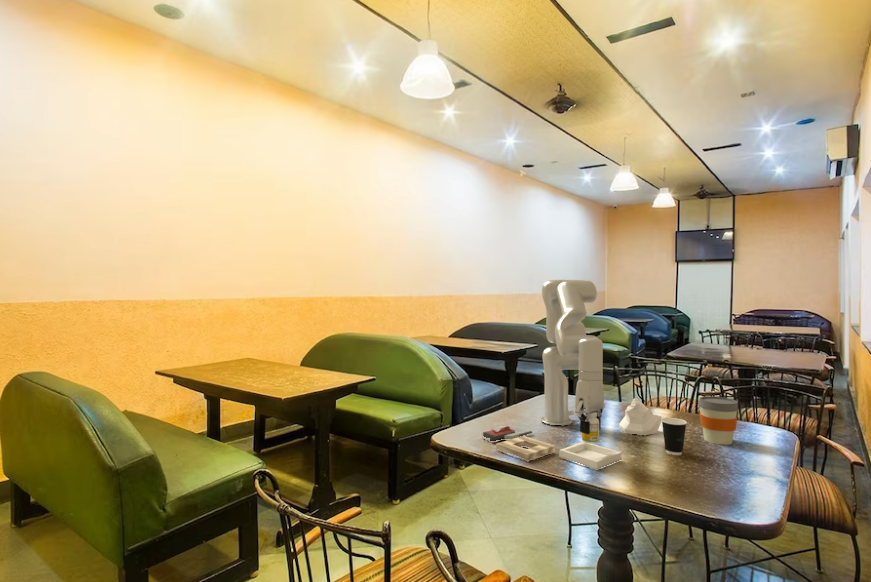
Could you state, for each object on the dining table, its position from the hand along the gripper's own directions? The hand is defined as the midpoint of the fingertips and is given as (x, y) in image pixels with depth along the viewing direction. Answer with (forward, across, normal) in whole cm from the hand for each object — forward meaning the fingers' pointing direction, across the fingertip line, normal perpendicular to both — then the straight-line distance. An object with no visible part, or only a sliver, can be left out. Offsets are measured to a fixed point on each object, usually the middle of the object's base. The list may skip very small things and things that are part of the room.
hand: (590, 430), depth 156 cm
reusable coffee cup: (+10, -54, +18) cm, 58 cm away
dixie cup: (+10, -28, +14) cm, 33 cm away
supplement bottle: (+4, 0, 0) cm, 4 cm away
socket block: (+9, +11, -18) cm, 23 cm away
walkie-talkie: (+10, +4, -33) cm, 35 cm away
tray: (+9, 0, 0) cm, 9 cm away
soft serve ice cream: (+10, -42, -6) cm, 44 cm away
